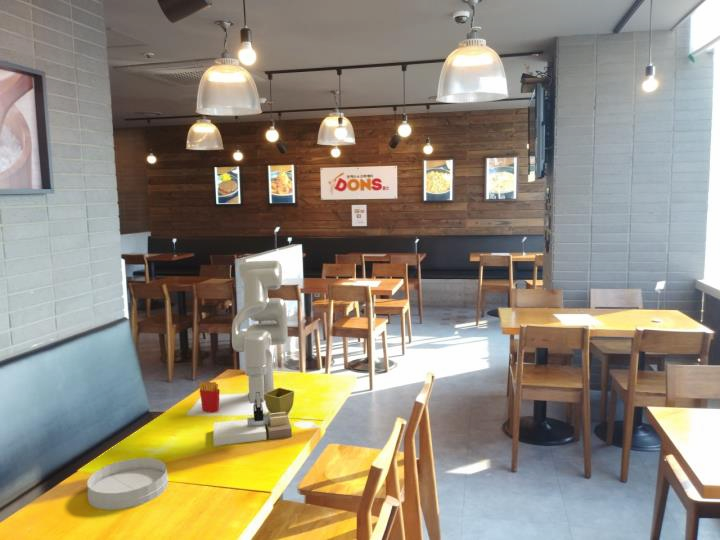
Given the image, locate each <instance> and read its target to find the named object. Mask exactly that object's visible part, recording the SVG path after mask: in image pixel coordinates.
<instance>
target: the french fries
mask: <svg viewBox="0 0 720 540" xmlns="http://www.w3.org/2000/svg"><path fill="white" fill-rule="evenodd" d="M198 387H199V395H200V401H201V408H202V412H204V413H213V414H214V413H217V412H218V411H219V410H220V389H219V384H218V383H217V382H215V381H213V382H211V381H207V382H205V381H200V382H199V383H198Z"/></svg>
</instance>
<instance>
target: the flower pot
mask: <svg viewBox="0 0 720 540" xmlns="http://www.w3.org/2000/svg"><path fill="white" fill-rule="evenodd" d="M294 397H295V391H294V390H291V389H286V388H283V387H277V388H274V390H272V391H269V392H267V393H264V403H265V407H266V409H267V410H268V412H269V414H270V413H278V412H286V415H288V414H289V413H290V412H291V411H292V408H293V405H294V399H295V398H294Z"/></svg>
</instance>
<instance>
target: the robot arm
mask: <svg viewBox="0 0 720 540" xmlns="http://www.w3.org/2000/svg"><path fill="white" fill-rule="evenodd" d="M238 273H239V276H240V278H241V280H242V283H243V306H242V307H241V308H240V310H238V312H237V313H236V315H235V317H234V318H233V321H232V325H231V345H232V349H233V350H234V351H235V352H237V353H239V352H240V353H241V352H243V353H244V368H245V369H244V371H245V376H246V377H248V395H247V397H248V398H249V403H250V404H251V405H252V404H253V405H254V406H253V409H252V411H253V418H254V421H255V422H256V421H263V416H264V409H262V407H263V403H265V399H264V393H267V392H269V391H272V390H274V389H275V388H274V387H275V386H274V369H273V368H274V366H273V354H272V352H271V351H270V349H269V348H270V346H278V345H280V346H281V345H284V344H286V343H287V341H288V339H289V338H288V337H289V336H288V335H289V334H288V330H289V329H288V315H287V314H288V313H287V306H286V305H287V304H286V302H285V300H284V299H283V298H279V297H272V298H271V297H269V295H268V294H269V292H268V291H269V290H272V291H273V290H279V289H280V288H281V286H282V282H283V281H282V280H283V268H282V265H281V263H280V261H278V260H255V261H245V262H242V263H240V264H239V265H238ZM248 319H250V320H252V321H253V322H261V323H253V324H251V325H249V326H248V327H247V329H246V330H244V331H243V330H241V331H240V329H241V326H242V324H243V323H244V322H245V321H246V320H248ZM267 321H268V322H267ZM270 321H275V322H270ZM264 322H265V323H264ZM256 404H257V405H256ZM260 404H261V405H260ZM254 408H255V410H254Z"/></svg>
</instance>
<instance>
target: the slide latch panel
mask: <svg viewBox="0 0 720 540" xmlns="http://www.w3.org/2000/svg"><path fill="white" fill-rule="evenodd" d="M271 415H281V416H280V417H271V418H270V424H269V425H261V426H253V427H248V422H247V418H243V419H235V420H228V421H218V422H214V423H213V437H212V438H213V439H212V440H213V447H219V446H226V444H227V445H233V444H234V443H235V444H241V443H250V442H258V441H259V442H260V441H267V434H268V438H269V439H268V440H274V439H280V438H281V439H284V438H289V437H293V434H292V426H291V425H292V424H291V422H290V420H289V416H288V414H286V412H278V413H270V412H269V413H268V416H271ZM266 429H267V430H266Z"/></svg>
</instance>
